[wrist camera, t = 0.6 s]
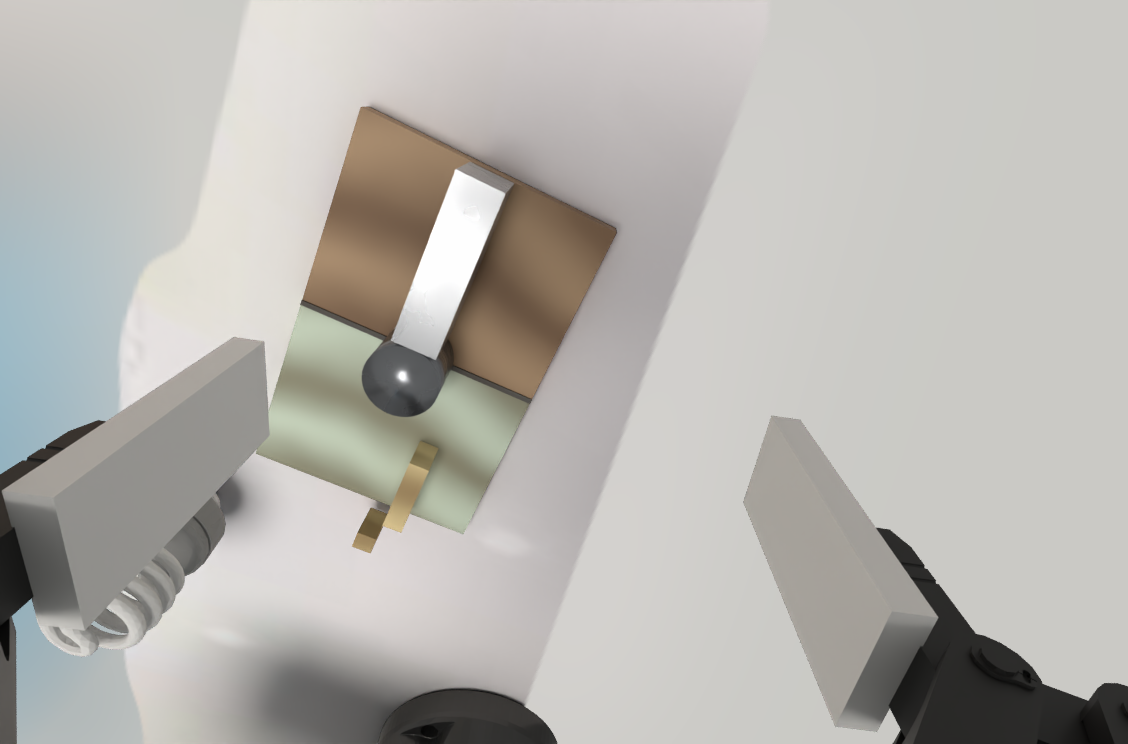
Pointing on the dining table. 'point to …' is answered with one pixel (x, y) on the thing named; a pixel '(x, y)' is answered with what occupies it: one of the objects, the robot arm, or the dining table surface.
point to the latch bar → (436, 296)
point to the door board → (479, 338)
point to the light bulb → (148, 588)
